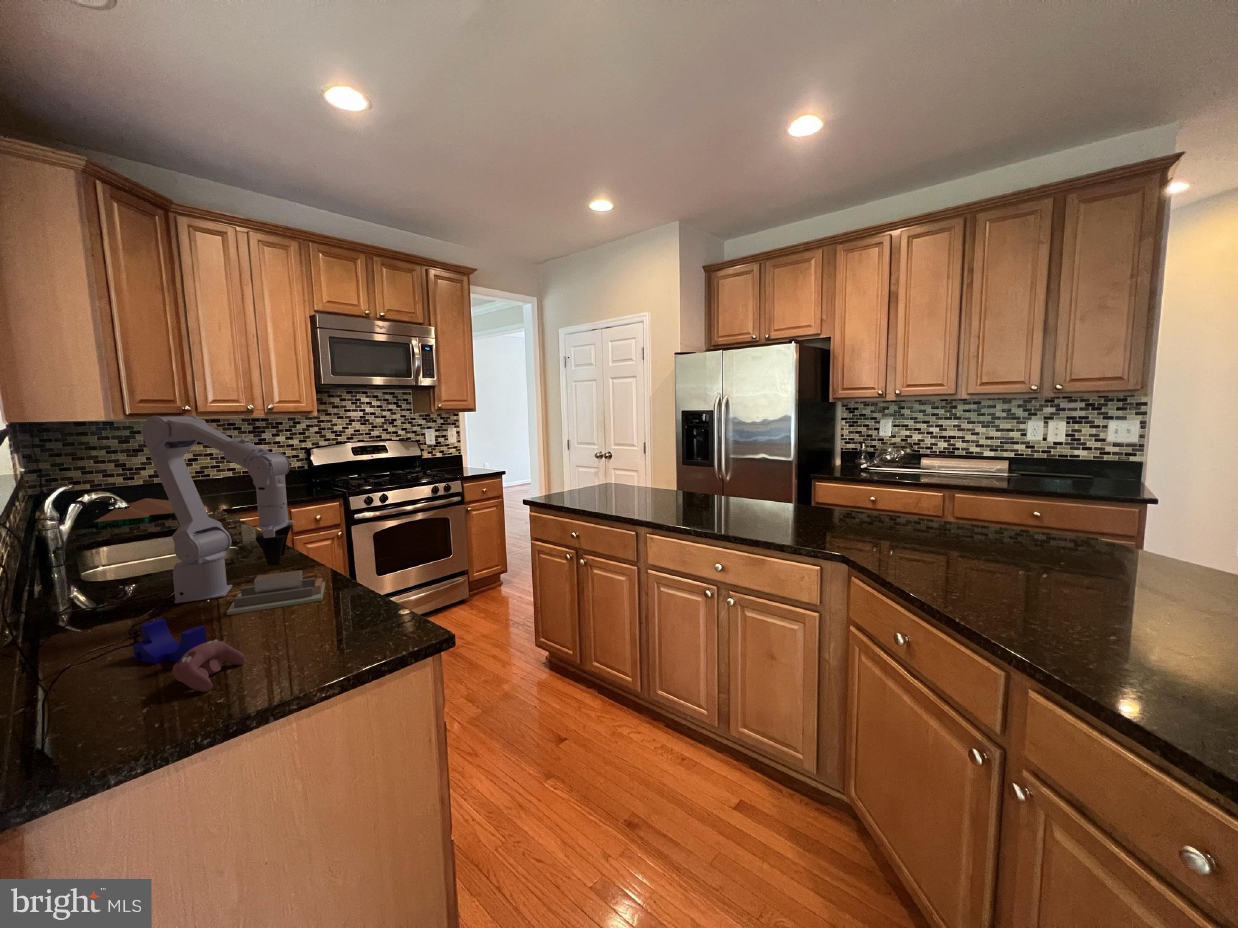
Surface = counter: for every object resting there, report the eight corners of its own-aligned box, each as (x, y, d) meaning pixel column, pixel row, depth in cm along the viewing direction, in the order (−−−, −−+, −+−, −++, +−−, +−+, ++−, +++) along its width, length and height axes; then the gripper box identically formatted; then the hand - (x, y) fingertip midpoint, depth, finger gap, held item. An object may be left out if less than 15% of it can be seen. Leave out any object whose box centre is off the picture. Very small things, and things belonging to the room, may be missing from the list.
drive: (255, 601, 114) (254, 580, 114) (259, 595, 118) (257, 575, 117) (301, 594, 118) (300, 574, 118) (303, 589, 122) (301, 570, 121)
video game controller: (226, 671, 89) (204, 639, 88) (250, 659, 89) (228, 627, 88) (184, 703, 79) (159, 668, 78) (211, 690, 79) (186, 654, 78)
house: (189, 508, 225) (187, 490, 224) (175, 522, 198) (173, 502, 197) (119, 514, 213) (117, 495, 212) (94, 530, 186) (92, 508, 185)
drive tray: (227, 615, 109) (226, 602, 108) (239, 596, 119) (238, 585, 119) (321, 600, 117) (320, 589, 117) (325, 584, 128) (324, 574, 127)
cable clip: (134, 660, 90) (131, 628, 89) (163, 648, 94) (160, 618, 93) (180, 670, 86) (177, 637, 86) (208, 657, 91) (205, 626, 90)
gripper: (288, 508, 111) (292, 566, 113) (296, 498, 124) (300, 550, 126) (249, 511, 108) (254, 570, 110) (262, 500, 121) (266, 553, 123)
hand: (276, 560), depth 118 cm, fingers open, 7 cm apart
